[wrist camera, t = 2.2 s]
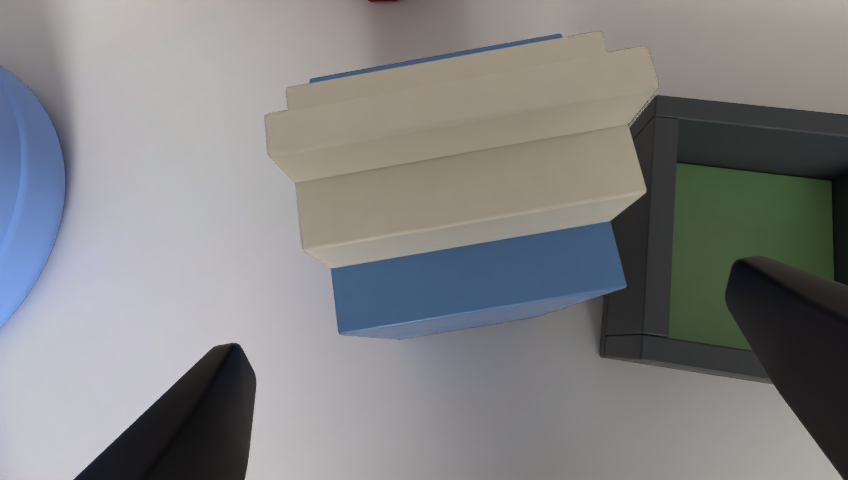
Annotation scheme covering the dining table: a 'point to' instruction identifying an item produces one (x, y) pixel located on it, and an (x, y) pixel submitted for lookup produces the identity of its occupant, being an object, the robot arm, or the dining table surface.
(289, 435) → the dining table surface
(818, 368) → the robot arm
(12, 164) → the water jug
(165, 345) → the dining table surface
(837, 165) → the caddy
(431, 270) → the carton
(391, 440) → the dining table surface
